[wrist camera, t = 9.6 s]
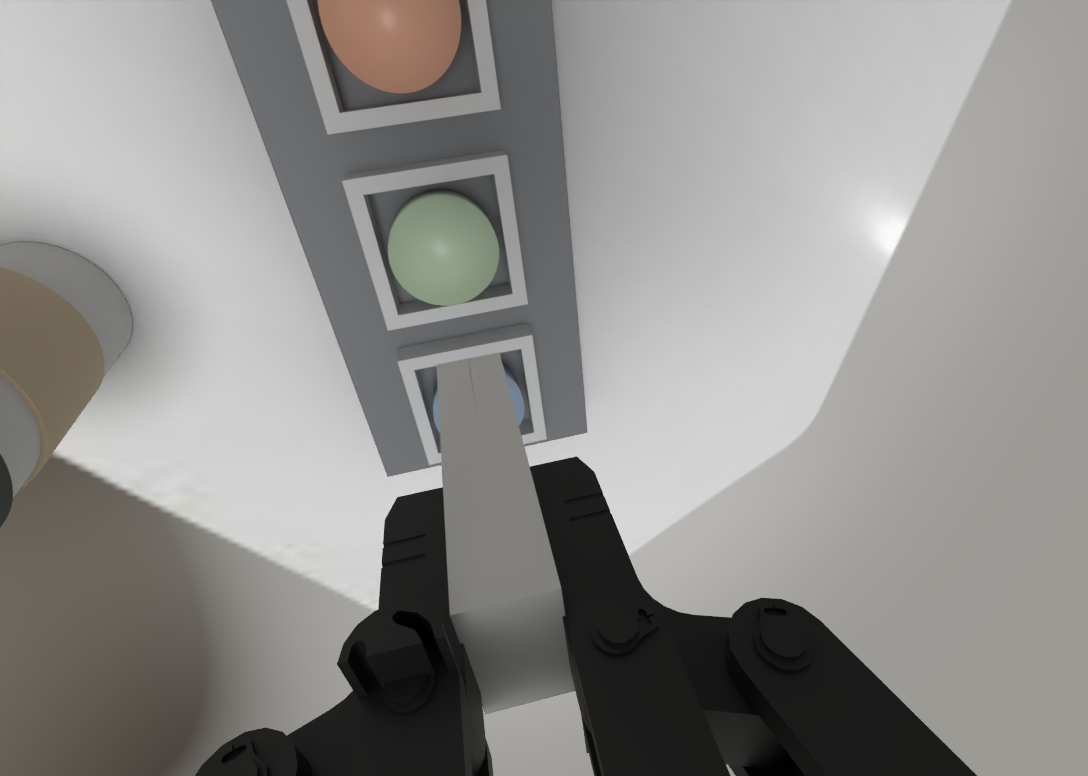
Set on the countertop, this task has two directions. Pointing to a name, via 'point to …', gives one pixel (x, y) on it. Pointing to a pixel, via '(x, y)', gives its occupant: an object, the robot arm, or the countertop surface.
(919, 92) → the countertop surface
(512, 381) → the button slate
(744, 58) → the countertop surface
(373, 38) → the button terracotta
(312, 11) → the panel
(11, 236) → the countertop surface
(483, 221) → the button sage
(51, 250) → the coffee cup
